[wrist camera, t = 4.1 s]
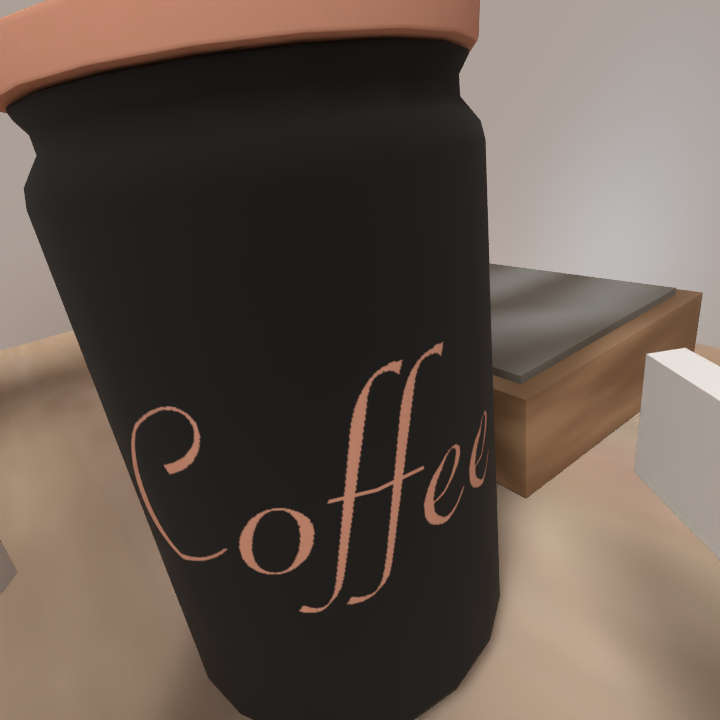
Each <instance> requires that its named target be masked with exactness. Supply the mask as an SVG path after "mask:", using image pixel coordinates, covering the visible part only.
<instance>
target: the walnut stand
mask: <svg viewBox="0 0 720 720" xmlns="http://www.w3.org/2000/svg"><path fill="white" fill-rule="evenodd" d="M489 271H490V303H491V335H492V367H493V399H494V430H495V462H496V482H497V483H499V484H501V485H503V486H504V487H506V488H508V489H510V490H512V491H514V492H516V493H517V494H519V495H521V496H523V497H525V498H527V497H528V496H530V495H531V494H532V493H533V492H535V491H536V490H537V489H539V488H540V487H541V486H543V485H544V484H545V483H547V482H548V481H549V480H550V479H552V478H553V477H554V476H556V475H557V474H558V473H560V472H561V471H562V470H564V469H565V468H566V467H567V466H569V465H570V464H571V463H573V462H574V461H575V460H577V459H578V458H579V457H581V456H582V455H583V454H584V453H586V452H587V451H588V450H590V449H591V448H592V447H594V446H595V445H596V444H598V443H599V442H600V441H601V440H603V439H604V438H605V437H607V436H608V435H609V434H611V433H612V432H613V431H615V430H616V429H617V428H618V427H620V426H621V425H622V424H624V423H625V422H626V421H628V420H629V419H630V418H632V417H633V416H634V415H635V414H637V413H638V412H639V411H640V410H641V400H642V391H643V381H644V371H645V362H646V354H649V353H655V352H662V351H668V350H674V349H681V348H687V349H688V350H690V351H692V352H694V349H695V342H696V335H697V328H698V322H699V315H700V308H701V301H702V294H703V293H701V292H693V291H686V290H678V289H676V288H671V287H663V286H655V285H648V284H641V283H633V282H625V281H617V280H610V279H603V278H594V277H587V276H580V275H572V274H565V273H557V272H549V271H542V270H534V269H527V268H519V267H510V266H503V265H496V264H489Z"/></svg>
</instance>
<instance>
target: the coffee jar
mask: <svg viewBox="0 0 720 720" xmlns="http://www.w3.org/2000/svg"><path fill="white" fill-rule="evenodd" d="M479 11H480V0H46V1H43V2H41V3H38V4H36V5H33V6H30V7H28V8H25V9H23V10H20V11H18V12H15V13H13V14H10V15H8V16H5V17H2V18H0V112H3V113H7V114H8V115H9V116H10V117H11V119H12V120H13V121H14V122H15V123H16V124H17V125H18V126H19V127H20V128H22V129H23V130H24V131H25V132H26V133H27V134H28V135H29V136H30V139H31V141H32V144H33V147H34V150H35V152H36V155H37V156H36V159H35V161H34V164H33V166H32V168H31V171H30V173H29V176H28V179H27V181H26V184H25V187H24V193H25V200H26V208H27V212H28V215H29V217H30V220H31V222H32V225H33V227H34V230H35V232H36V235H37V238H38V240H39V243H40V245H41V248H42V251H43V253H44V256H45V258H46V261H47V263H48V266H49V269H50V271H51V274H52V276H53V279H54V281H55V284H56V287H57V289H58V292H59V294H60V297H61V299H62V302H63V305H64V307H65V310H66V312H67V315H68V317H69V320H70V323H71V325H72V328H73V330H74V333H75V335H76V338H77V341H78V343H79V346H80V348H81V351H82V353H83V356H84V359H85V361H86V364H87V366H88V369H89V372H90V374H91V377H92V379H93V382H94V384H95V387H96V390H97V392H98V395H99V397H100V400H101V402H102V405H103V408H104V410H105V413H106V415H107V418H108V420H109V423H110V426H111V428H112V431H113V433H114V436H115V438H116V441H117V444H118V446H119V449H120V451H121V454H122V456H123V459H124V462H125V464H126V467H127V469H128V472H129V474H130V477H131V480H132V482H133V485H134V487H135V490H136V492H137V495H138V498H139V500H140V503H141V505H142V508H143V510H144V513H145V516H146V518H147V521H148V523H149V526H150V528H151V531H152V534H153V536H154V539H155V541H156V544H157V546H158V549H159V552H160V554H161V557H162V559H163V562H164V564H165V567H166V570H167V572H168V575H169V577H170V580H171V582H172V585H173V588H174V590H175V593H176V595H177V598H178V600H179V603H180V606H181V608H182V611H183V613H184V616H185V618H186V621H187V624H188V626H189V629H190V631H191V634H192V636H193V639H194V642H195V644H196V647H197V649H198V652H199V654H200V657H201V660H202V662H203V665H204V667H205V670H206V672H207V675H208V678H209V679H210V680H211V681H212V682H213V684H214V685H215V686H216V687H217V688H218V689H219V690H220V691H221V692H222V694H223V695H224V696H225V697H226V698H227V699H228V700H229V701H230V702H231V704H232V705H233V706H234V707H235V708H236V709H237V710H238V711H239V712H240V713H241V714H243V715H245V716H247V717H249V718H251V719H253V720H415V719H416V718H417V717H419V716H420V715H421V714H423V713H424V712H426V711H427V710H428V709H430V708H431V707H432V706H434V705H435V704H437V703H438V702H439V701H441V700H442V699H443V698H445V697H446V696H448V695H449V694H450V693H452V692H453V691H454V690H456V689H457V687H458V686H459V684H460V683H461V681H462V680H463V678H464V677H465V675H466V674H467V672H468V671H469V670H470V668H471V667H472V665H473V664H474V662H475V661H476V659H477V658H478V656H479V655H480V653H481V652H482V650H483V649H484V648H485V646H486V645H487V643H488V642H489V640H490V636H491V632H492V627H493V623H494V619H495V614H496V610H497V606H498V601H499V597H500V590H499V558H498V526H497V494H496V462H495V430H494V399H493V367H492V335H491V303H490V271H489V239H488V207H487V178H486V177H487V175H486V146H485V145H486V143H485V136H484V132H483V128H482V124H481V121H480V119H479V118H478V117H477V116H476V115H475V114H474V112H473V111H472V110H471V109H470V108H469V106H468V105H467V104H466V103H465V102H464V100H463V99H462V98H461V97H460V86H459V73H460V70H461V69H462V67H463V65H464V62H465V60H466V58H467V56H468V54H469V52H470V51H471V49H472V47H473V46H474V44H475V43H476V41H477V39H478V36H479Z"/></svg>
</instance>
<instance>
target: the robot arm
mask: <svg viewBox="0 0 720 720" xmlns="http://www.w3.org/2000/svg"><path fill="white" fill-rule="evenodd" d="M634 472H635V473H636V474H637V475H638V476H639V477H640V478H641V479H642V481H643V482H644V483H645V484H646V485H647V486H648V487H649V488H650V489H651V490H652V491H653V492H654V493H655V494H656V495H657V496H658V497H659V498H660V499H661V500H662V501H663V502H664V503H665V504H666V505H667V506H668V507H669V508H670V509H671V510H672V512H673V513H674V514H675V515H676V516H677V517H678V518H679V519H680V520H681V521H682V522H683V523H684V524H685V525H686V526H687V527H688V528H689V529H690V530H691V531H692V532H693V533H694V534H695V535H696V536H697V537H698V538H699V539H700V540H701V542H702V543H703V544H704V545H705V546H706V547H707V548H708V549H709V550H710V551H711V552H712V553H713V554H714V555H715V556H716V557H717V558H718V559H719V560H720V367H719V366H717V365H716V364H714V363H712V362H710V361H708V360H707V359H705V358H703V357H701V356H699V355H698V354H696V353H694V352H692V351H690V350H688V349H687V348H681V349H674V350H668V351H662V352H655V353H649V354H646V362H645V371H644V381H643V391H642V400H641V410H640V419H639V429H638V439H637V448H636V458H635V467H634ZM16 573H17V570H16V568H15V566H14V564H13V563H12V561H11V559H10V557H9V555H8V554H7V552H6V550H5V548H4V546H3V544H2V543H1V541H0V596H1V595H2V593H3V592H4V590H5V589H6V587H7V586H8V585H9V583H10V582H11V580H12V579H13V577H14V576H15V575H16Z"/></svg>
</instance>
